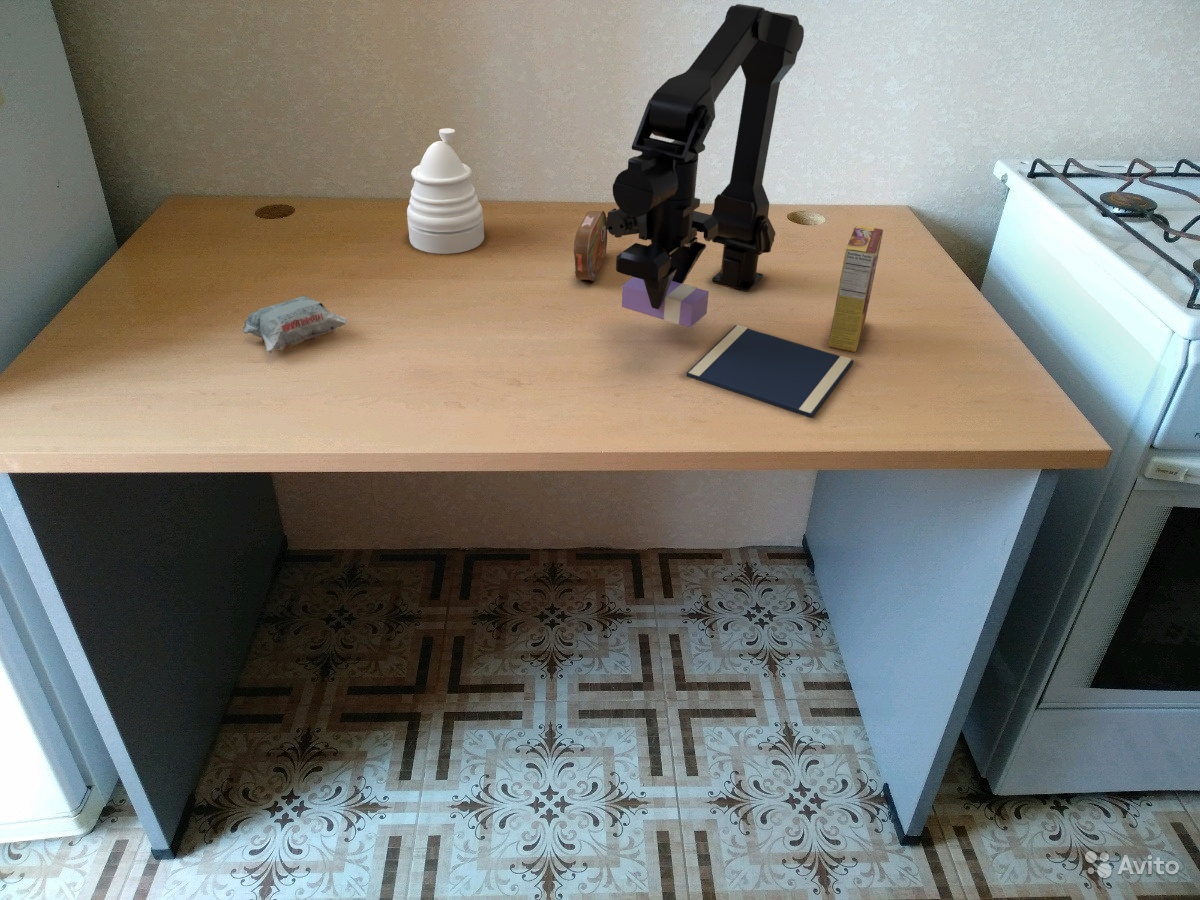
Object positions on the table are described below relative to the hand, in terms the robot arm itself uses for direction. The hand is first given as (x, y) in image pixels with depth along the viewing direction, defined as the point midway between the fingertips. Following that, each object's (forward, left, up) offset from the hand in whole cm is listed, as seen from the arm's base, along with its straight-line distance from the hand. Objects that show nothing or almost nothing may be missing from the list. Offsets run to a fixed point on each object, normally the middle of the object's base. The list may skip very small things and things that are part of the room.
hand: (664, 300), depth 124 cm
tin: (-14, -21, -6) cm, 26 cm away
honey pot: (-10, -48, -6) cm, 49 cm away
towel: (-1, +17, -6) cm, 18 cm away
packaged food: (+29, -43, -6) cm, 52 cm away
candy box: (-16, +22, -6) cm, 28 cm away
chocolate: (0, 0, -2) cm, 2 cm away
